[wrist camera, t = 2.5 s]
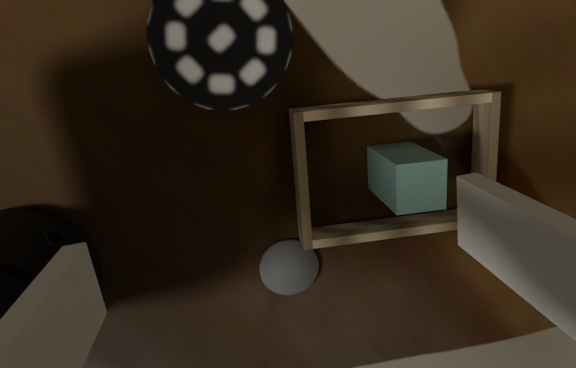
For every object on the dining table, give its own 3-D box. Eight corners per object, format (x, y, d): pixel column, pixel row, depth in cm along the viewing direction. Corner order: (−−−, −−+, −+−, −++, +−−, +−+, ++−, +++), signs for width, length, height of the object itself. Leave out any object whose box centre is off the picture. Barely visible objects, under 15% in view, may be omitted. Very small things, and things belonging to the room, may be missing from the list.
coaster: (262, 296, 53) (262, 298, 52) (256, 242, 51) (256, 245, 50) (319, 287, 54) (320, 290, 53) (315, 235, 52) (316, 237, 51)
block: (368, 188, 51) (396, 215, 42) (366, 145, 49) (396, 165, 41) (409, 183, 51) (446, 208, 43) (409, 141, 50) (447, 159, 41)
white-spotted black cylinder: (223, -19, 43) (221, -77, 24) (281, 47, 45) (321, 42, 26) (163, 42, 43) (114, 33, 24) (224, 103, 46) (221, 139, 27)
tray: (298, 237, 51) (303, 250, 48) (288, 108, 47) (293, 112, 44) (476, 214, 54) (493, 224, 50) (482, 89, 49) (501, 91, 46)
